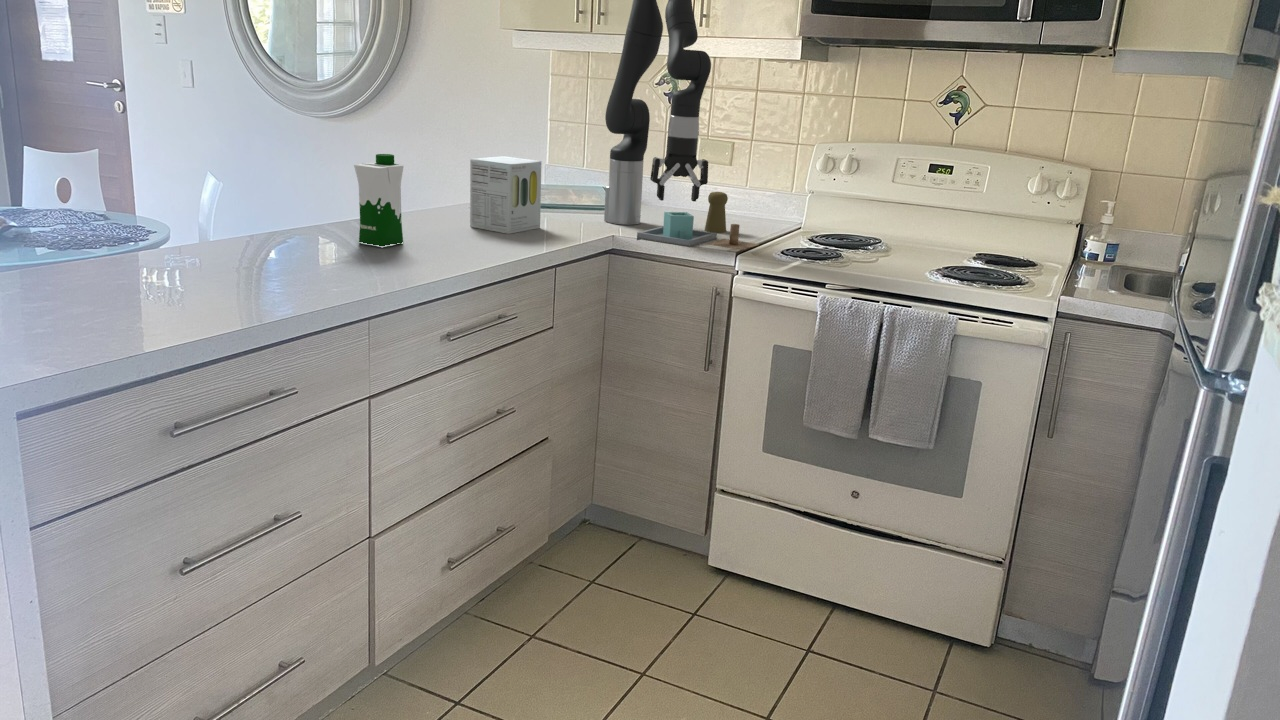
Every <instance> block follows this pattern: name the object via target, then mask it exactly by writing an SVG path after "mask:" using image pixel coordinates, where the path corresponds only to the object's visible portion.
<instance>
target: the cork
mask: <svg viewBox="0 0 1280 720" xmlns="http://www.w3.org/2000/svg"><path fill="white" fill-rule="evenodd" d="M728 199H729V197H728V194H727V193H725V192H722V191H711V192H709V194H708V198H707V201H708V203H709V207H708V212H707V217H706V221H705V225H704V231H705V232H712V233H717V234H718V233H719V234H721V233H722V234H724V233H727V221H726V220H727V219H726V205H727V203H728Z"/></svg>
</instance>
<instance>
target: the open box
mask: <svg viewBox="0 0 1280 720" xmlns="http://www.w3.org/2000/svg"><path fill="white" fill-rule="evenodd" d="M663 214H664V215H663V236H667V237H673V238H680V239H686V240H689V239H692V234H693V230H694V220H695V219H694V218H695V216H694V215H692V214H690V213H688V212H687V211H683V212H681V211H678V212H677V211H664V212H663Z"/></svg>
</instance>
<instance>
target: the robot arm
mask: <svg viewBox="0 0 1280 720" xmlns="http://www.w3.org/2000/svg"><path fill="white" fill-rule="evenodd" d="M664 13H665V14H664V19H665V24H666V30H667V34H668V54H667V59H666V60H667V62H666V69H667V72H668V74H669V76H670V77H671V78H672V79H674V80H676V81H678V80H679V81H690V82H689V84H688V86H687V87H686V88H684V89H680V90H676V91H674V92H673V93H672V96H671V103H670V104H671V105H670V117H669V121H668V127H667V128H668V130H667V140H666V153H665V158H662V157H661V158H660V157H657V156H654V157H653V158H652V165H651V172H650V181H651V182H653V183H654V184H657V185H656V186H657V187H656V197H657V198H658V200H659V201H664V198H665V189H666V188H665V183H666V182H667V181H669V179H671V177H672V176H673V177H676V178H677V177H683V178H687V177H688V178H689V179H690V181H691V182H692V184H693V185H692V186H691V199H690V200H691V201H692V202H697V200H698V199H699V197H700V188H701V187H702V186H703V185H707V184H708V182H709V181H708V179H709V178H708V177H709V160H706V159H704V158H702V159H698V160H697V153H698V141H699V135H700V131H699V130H700V110H701V100H702V96H703V94H704V92H705V87H706V84H707V82H708V80H709V77H710V74H711V71H712V60H711V56H710V55H709V54H708V53H707V52H706V51H705V50H697V49H695V50H694V49H685V48H690V47H692V46H693V45H694V44H695V43H696V42H697V41H698V28H697V24H696V19H695V13H694V8H693V1H692V0H668V1H667V3H666V6H665V11H664ZM663 32H664V22H663V19H662V14H661V11H660V9H659V5H658V1H657V0H632V4H631V9H630V14H629V18H628V22H627V25H626V30H625V35H624V39H623V40H624V41H623V46H622V52H621V55H620V60H619V63H618V64H619V65H618V67H617V72H616V77H615V79H614V83H613V86H612V89H611V92H610V95H609V97H608V101H607V105H606V110H605V114H604V115H605V125H606V128H607V130H608V132H610V133H611V134H614V135H623V138H622V140H621V141H620V142H619V143H618V144H616V145H614V146H613V147H612V148H611V149H610V151H609V169H608V170H609V173H608V174H609V175H608V185H607V186H606V187H605V189H604V190H605V193H604V194H605V196H604V216H603V221H604V222H608V223H611V224H616V225H627V226H628V225H632V226H633V225H638V224H641V216H642V215H641V213H642V199H643V198H642V195H643V181H644V180H643V179H644V177H643V176H644V157H645V153H646V151H647V147H648V139H649V131H650V130H649V129H650V120H651V118H650V117H651V116H650V109H649V107H648V104H647V102H645V101H644V100H642V99H640V98H634V94H635V91H636V87H637V85H638V83H639V82H640V80H641V78H642V77H643V76H644V74H645V73H646V72H647V71H648V69H649V68H650V66H651V65H652V63H653V62H654V60H655V59H656V57H657V56H658V53H659V49H660V45H661V43H662V42H661V41H662V37H663ZM663 164H664V166H665V167H666V168H665V170H664V171H663V172H662V174H660V176H659V172H660V168H661V167H662V166H663ZM697 166H698V168H699V169H700V174H699V175H700V178H698V176H697V175H696V173H695V172H694V169H696V167H697Z"/></svg>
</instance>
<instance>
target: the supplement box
mask: <svg viewBox="0 0 1280 720" xmlns="http://www.w3.org/2000/svg"><path fill="white" fill-rule="evenodd" d="M469 161H470V163H469V164H470V165H469V166H470V177H469V179H470V180H469V182H470V184H469V185H470V186H469V187H470V190H469V192H470V193H469V194H470V197H469V200H470V201H469V203H470V204H469V205H470V207H469V210H470V211H469V217H470V220H469V223H470V225H469V227H471V228H475V229H480V230H486V231H492V232H496V233H502V234H507V235H509V234H514V233H519V232H520V233H521V232H526V231H532V230H537V229H540V228H541V203H542V201H541V200H542V199H541V197H542V195H541V194H542V193H541V192H542V160H536V159H529V158H521V157H513V156H504V155H501V156H490V157H478V158H477V157H475V158H470V160H469Z"/></svg>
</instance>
